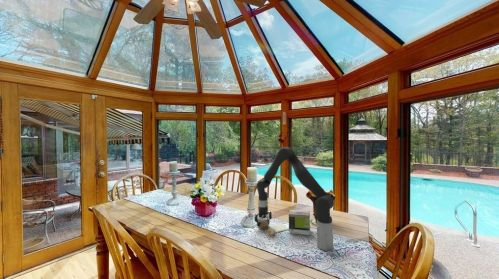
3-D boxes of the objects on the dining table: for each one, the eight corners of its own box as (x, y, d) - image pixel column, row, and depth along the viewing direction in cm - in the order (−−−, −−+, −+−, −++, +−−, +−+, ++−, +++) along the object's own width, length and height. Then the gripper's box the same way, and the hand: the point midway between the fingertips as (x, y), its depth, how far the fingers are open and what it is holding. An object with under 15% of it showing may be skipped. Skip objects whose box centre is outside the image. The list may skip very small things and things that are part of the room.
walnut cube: (268, 228, 177) (268, 221, 176) (262, 230, 174) (261, 222, 174) (264, 225, 182) (264, 218, 182) (258, 227, 179) (258, 219, 179)
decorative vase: (339, 228, 175) (337, 192, 174) (308, 227, 180) (306, 192, 179) (334, 217, 195) (332, 185, 195) (306, 217, 200) (305, 186, 199)
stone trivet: (289, 229, 175) (289, 228, 175) (276, 232, 169) (276, 231, 169) (280, 223, 185) (280, 222, 185) (267, 226, 180) (267, 225, 180)
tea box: (310, 230, 173) (310, 210, 173) (309, 235, 164) (309, 215, 163) (290, 227, 178) (290, 209, 177) (288, 233, 168) (288, 213, 167)
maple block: (275, 235, 166) (275, 229, 166) (271, 236, 163) (271, 231, 163) (270, 233, 169) (270, 228, 169) (267, 235, 166) (267, 229, 166)
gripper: (257, 208, 171) (257, 229, 171) (273, 205, 177) (273, 225, 178) (252, 205, 177) (253, 225, 178) (268, 202, 184) (268, 222, 184)
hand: (263, 225), depth 178 cm, fingers open, 8 cm apart
